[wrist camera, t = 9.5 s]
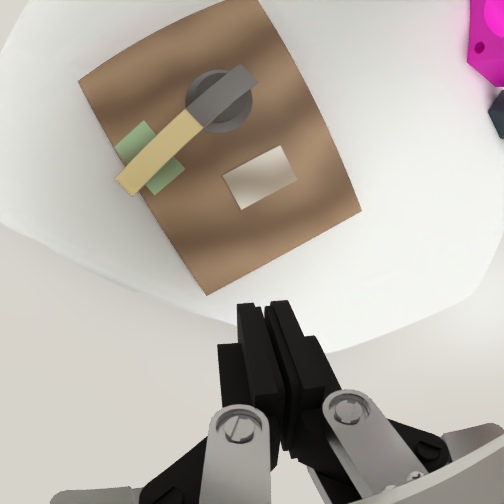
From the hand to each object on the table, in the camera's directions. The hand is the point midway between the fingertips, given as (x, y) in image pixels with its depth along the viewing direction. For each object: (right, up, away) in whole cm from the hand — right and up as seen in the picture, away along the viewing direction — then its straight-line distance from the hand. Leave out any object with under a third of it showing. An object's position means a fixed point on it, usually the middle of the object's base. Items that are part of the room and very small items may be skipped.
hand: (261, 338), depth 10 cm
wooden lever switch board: (-3, +12, +15) cm, 20 cm away
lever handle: (-5, +12, +12) cm, 18 cm away
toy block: (+30, +32, +13) cm, 46 cm away
